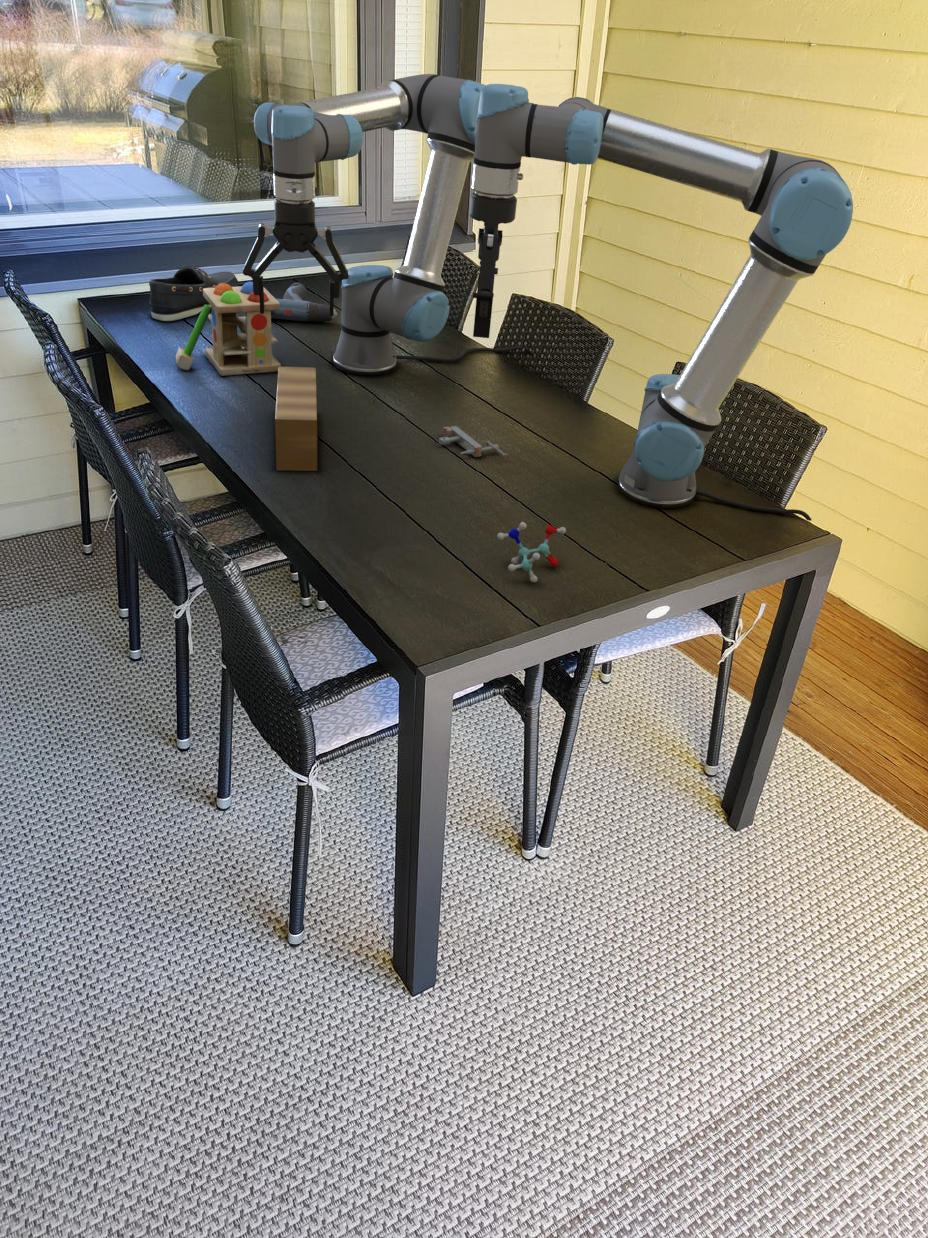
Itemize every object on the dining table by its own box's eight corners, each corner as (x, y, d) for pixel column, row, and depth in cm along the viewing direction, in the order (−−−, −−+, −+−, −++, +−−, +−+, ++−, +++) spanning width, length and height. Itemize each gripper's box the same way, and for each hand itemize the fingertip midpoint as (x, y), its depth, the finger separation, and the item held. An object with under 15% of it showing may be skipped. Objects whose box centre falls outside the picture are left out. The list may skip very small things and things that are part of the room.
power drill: (344, 304, 276) (335, 327, 259) (277, 298, 275) (264, 321, 258) (344, 285, 273) (335, 306, 256) (277, 279, 272) (264, 300, 255)
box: (279, 413, 210) (278, 366, 204) (315, 414, 211) (315, 367, 205) (276, 470, 188) (275, 419, 182) (317, 471, 189) (317, 420, 183)
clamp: (430, 428, 204) (472, 422, 209) (430, 438, 205) (471, 431, 210) (466, 458, 194) (509, 450, 198) (465, 468, 195) (508, 460, 199)
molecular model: (561, 577, 156) (542, 517, 155) (507, 592, 160) (488, 534, 159) (577, 563, 167) (559, 507, 166) (526, 578, 171) (508, 523, 169)
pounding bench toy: (183, 379, 220) (176, 299, 210) (169, 357, 231) (162, 280, 221) (282, 371, 230) (280, 294, 220) (264, 350, 240) (262, 276, 230)
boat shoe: (257, 300, 274) (255, 261, 268) (168, 323, 250) (164, 281, 244) (224, 291, 279) (221, 254, 274) (133, 313, 256) (128, 272, 250)
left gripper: (224, 200, 178) (231, 316, 190) (362, 207, 182) (360, 320, 194) (227, 191, 184) (234, 304, 196) (360, 198, 188) (359, 308, 200)
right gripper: (518, 212, 148) (503, 350, 160) (517, 180, 168) (503, 304, 180) (468, 207, 148) (457, 345, 159) (473, 176, 168) (463, 301, 180)
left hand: (297, 312), depth 195 cm, fingers open, 13 cm apart
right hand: (482, 324), depth 170 cm, fingers open, 13 cm apart
